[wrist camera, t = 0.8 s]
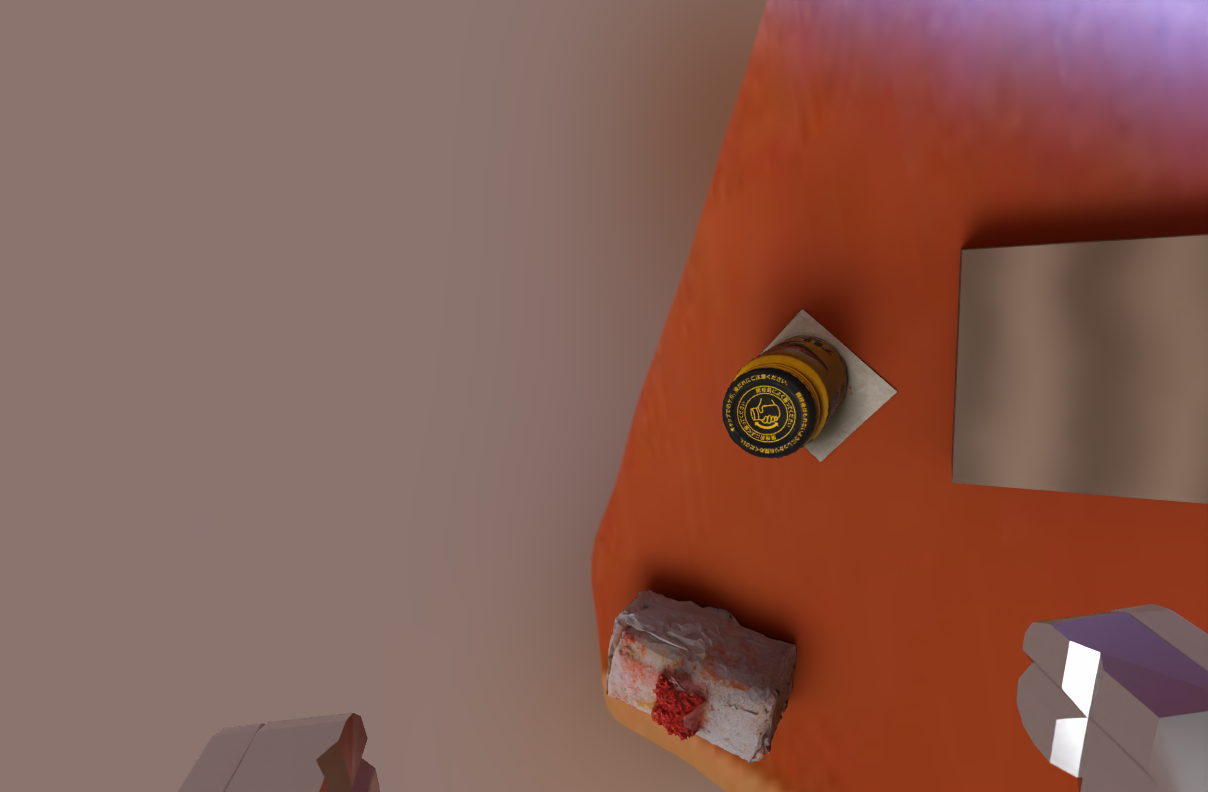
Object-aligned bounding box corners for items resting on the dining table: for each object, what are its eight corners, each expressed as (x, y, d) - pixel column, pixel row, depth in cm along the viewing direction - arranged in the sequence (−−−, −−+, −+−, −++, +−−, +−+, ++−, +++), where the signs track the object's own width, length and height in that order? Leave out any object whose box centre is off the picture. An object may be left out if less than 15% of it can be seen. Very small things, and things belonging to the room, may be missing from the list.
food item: (637, 649, 59) (584, 719, 50) (646, 572, 56) (593, 631, 48) (788, 710, 53) (759, 801, 45) (805, 627, 51) (778, 706, 42)
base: (1264, 230, 34) (1300, 229, 31) (1229, 482, 37) (1259, 507, 34) (960, 248, 41) (962, 250, 37) (951, 462, 43) (952, 482, 40)
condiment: (802, 308, 46) (761, 330, 35) (897, 391, 44) (883, 439, 34) (735, 381, 49) (680, 420, 39) (821, 460, 47) (787, 523, 37)
